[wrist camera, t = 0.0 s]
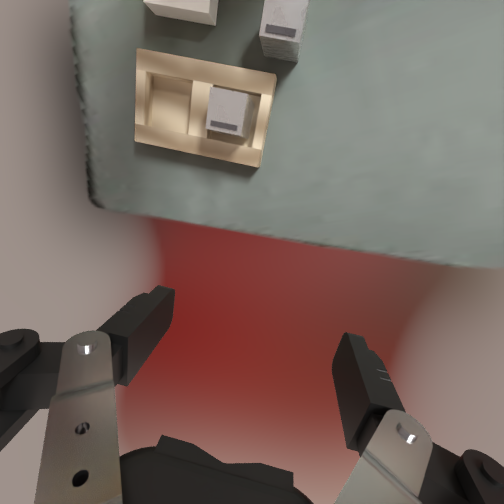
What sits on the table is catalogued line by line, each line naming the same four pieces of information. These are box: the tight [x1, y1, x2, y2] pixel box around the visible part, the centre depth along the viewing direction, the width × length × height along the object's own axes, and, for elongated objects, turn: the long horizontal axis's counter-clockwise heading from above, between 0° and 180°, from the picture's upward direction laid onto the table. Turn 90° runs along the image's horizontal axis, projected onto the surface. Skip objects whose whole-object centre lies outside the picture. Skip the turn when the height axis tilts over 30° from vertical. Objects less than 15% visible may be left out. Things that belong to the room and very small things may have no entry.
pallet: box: [135, 48, 277, 167], centre depth 35 cm, size 11×18×2 cm, turn 79°
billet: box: [205, 87, 255, 139], centre depth 32 cm, size 4×4×6 cm
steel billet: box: [259, 0, 310, 63], centre depth 29 cm, size 4×4×6 cm
